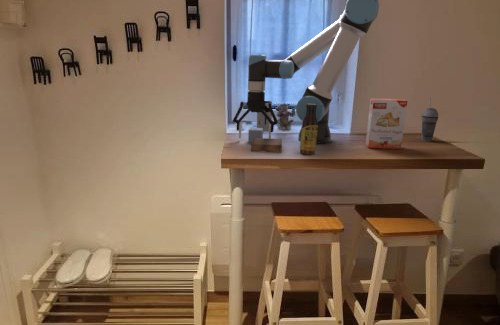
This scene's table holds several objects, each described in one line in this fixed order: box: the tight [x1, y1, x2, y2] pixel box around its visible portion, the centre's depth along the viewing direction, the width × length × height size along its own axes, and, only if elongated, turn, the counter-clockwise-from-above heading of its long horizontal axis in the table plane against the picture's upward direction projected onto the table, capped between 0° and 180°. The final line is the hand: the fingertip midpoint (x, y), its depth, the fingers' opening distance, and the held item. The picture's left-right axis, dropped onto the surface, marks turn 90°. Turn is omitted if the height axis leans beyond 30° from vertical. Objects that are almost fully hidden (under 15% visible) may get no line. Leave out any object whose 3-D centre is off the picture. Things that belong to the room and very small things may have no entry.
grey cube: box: [247, 127, 264, 144], centre depth 167 cm, size 6×6×6 cm
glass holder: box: [256, 100, 273, 133], centre depth 192 cm, size 9×14×15 cm, turn 162°
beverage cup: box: [420, 97, 439, 143], centre depth 172 cm, size 7×7×20 cm
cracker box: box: [365, 98, 408, 150], centre depth 157 cm, size 14×6×21 cm, turn 86°
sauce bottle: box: [299, 104, 318, 156], centre depth 146 cm, size 7×6×20 cm
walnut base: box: [250, 137, 283, 153], centre depth 156 cm, size 12×12×3 cm
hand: (254, 138), depth 168 cm, fingers open, 13 cm apart
